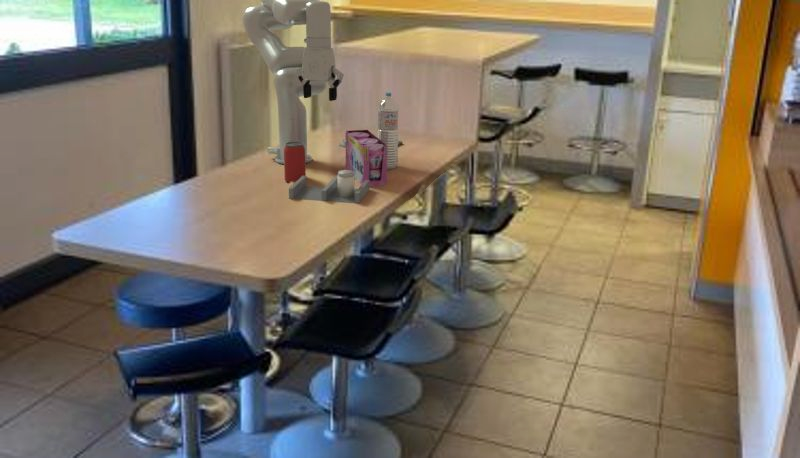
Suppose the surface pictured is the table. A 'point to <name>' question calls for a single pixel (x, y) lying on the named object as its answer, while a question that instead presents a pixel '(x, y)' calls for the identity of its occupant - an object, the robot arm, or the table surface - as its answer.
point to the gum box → (366, 157)
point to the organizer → (325, 191)
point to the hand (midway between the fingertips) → (320, 98)
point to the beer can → (294, 161)
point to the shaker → (346, 183)
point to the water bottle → (389, 128)
